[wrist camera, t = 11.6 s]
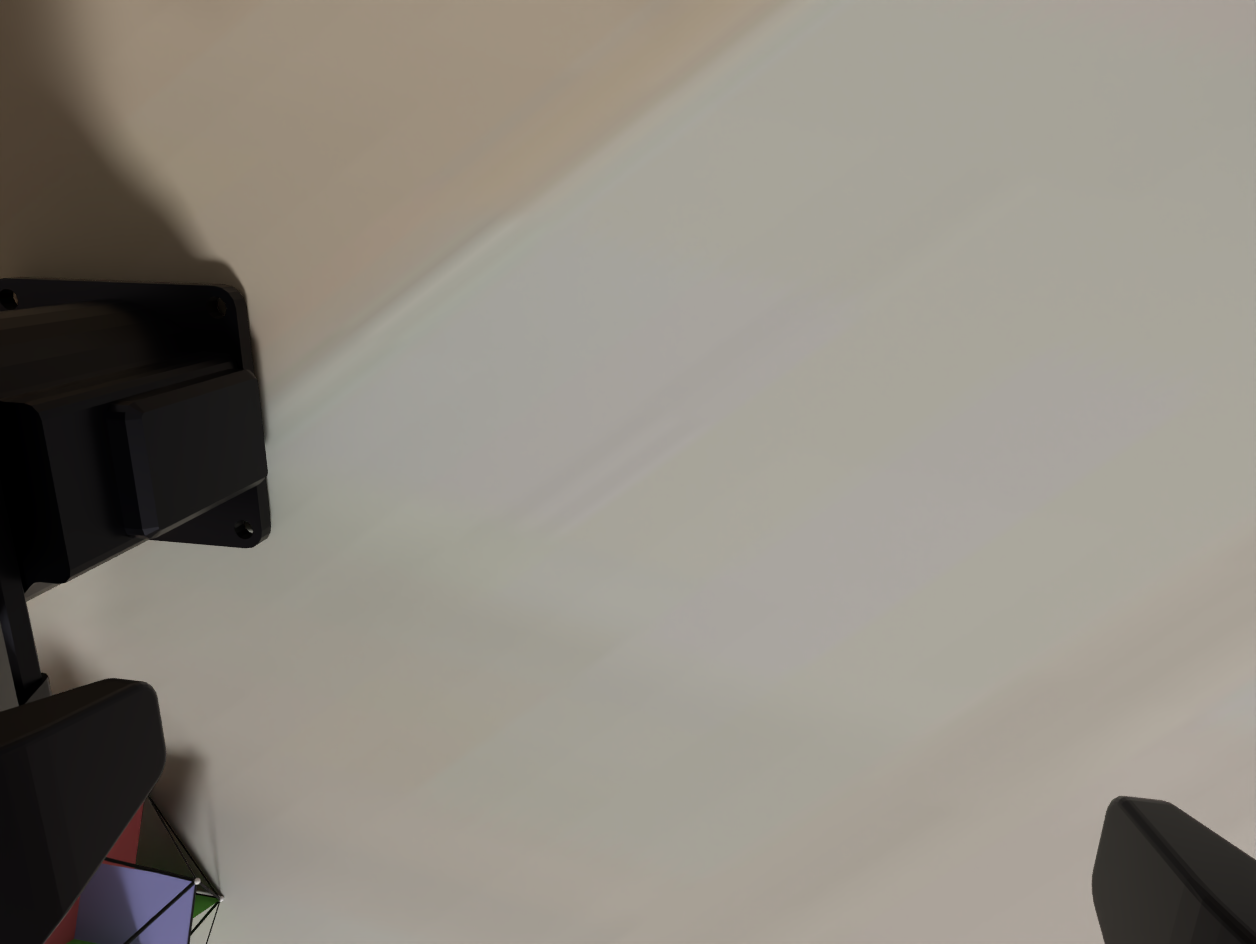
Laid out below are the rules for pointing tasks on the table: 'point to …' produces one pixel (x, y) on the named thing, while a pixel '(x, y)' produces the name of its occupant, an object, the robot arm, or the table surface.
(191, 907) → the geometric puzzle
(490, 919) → the table surface
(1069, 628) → the table surface
